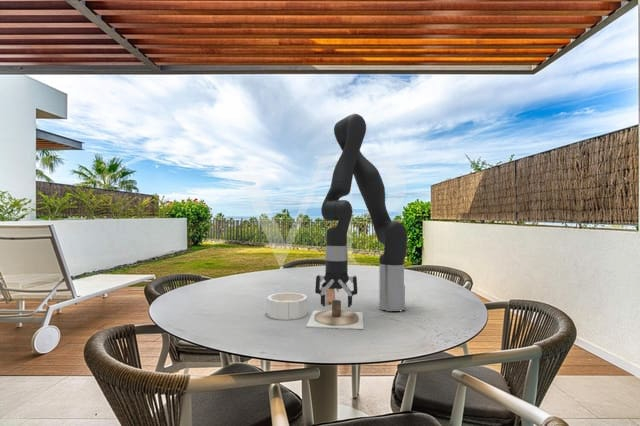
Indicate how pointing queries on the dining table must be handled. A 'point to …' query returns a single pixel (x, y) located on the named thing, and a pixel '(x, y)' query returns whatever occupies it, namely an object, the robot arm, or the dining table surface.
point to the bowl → (287, 306)
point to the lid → (336, 316)
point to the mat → (314, 324)
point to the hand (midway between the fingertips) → (336, 306)
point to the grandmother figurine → (329, 293)
